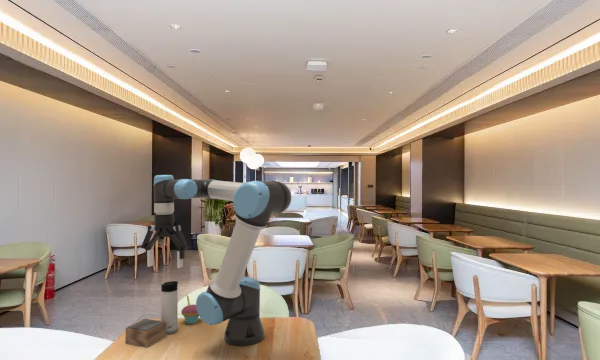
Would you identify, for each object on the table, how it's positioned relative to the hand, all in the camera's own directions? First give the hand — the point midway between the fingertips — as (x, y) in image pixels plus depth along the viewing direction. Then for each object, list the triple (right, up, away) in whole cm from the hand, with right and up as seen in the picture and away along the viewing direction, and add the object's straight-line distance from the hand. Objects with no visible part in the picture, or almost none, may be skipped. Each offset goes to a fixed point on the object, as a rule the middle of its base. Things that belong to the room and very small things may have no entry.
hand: (165, 266), depth 155 cm
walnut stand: (-5, -26, -8) cm, 28 cm away
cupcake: (+8, -26, +11) cm, 30 cm away
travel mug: (+2, -26, +1) cm, 26 cm away
